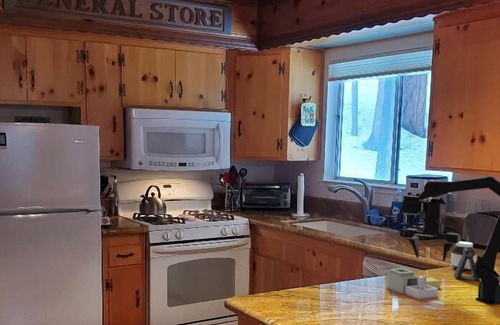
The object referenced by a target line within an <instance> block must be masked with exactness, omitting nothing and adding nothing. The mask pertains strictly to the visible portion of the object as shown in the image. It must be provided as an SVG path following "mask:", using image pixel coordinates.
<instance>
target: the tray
mask: <svg viewBox="0 0 500 325" xmlns="http://www.w3.org/2000/svg"><path fill="white" fill-rule="evenodd" d="M405 296H408V297H410V298H413V299H415V300H424V299H425V300H426V299H434V298H438V296H439V288H435V287H432V286H429V285H426V289H424V290H417V285H413V286H406V293H405Z"/></svg>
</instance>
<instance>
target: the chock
mask: <svg viewBox="0 0 500 325" xmlns="http://www.w3.org/2000/svg"><path fill="white" fill-rule="evenodd" d="M426 285H429V286H432V287H435V288H438V289H441V280H439V279H437V278H434V277H426Z"/></svg>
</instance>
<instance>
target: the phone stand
mask: <svg viewBox="0 0 500 325" xmlns="http://www.w3.org/2000/svg"><path fill="white" fill-rule="evenodd" d="M468 249H469V248H468ZM469 250H470V249H469ZM467 251H468V250H467V249H466V248H464V249H463V255H462V258H461V260H460V262H459V264H458V266H457V269H455V271H454V273H453V276H454V278H455V280H460V281H471V282H472V281H474V282H480V281H481V279H480V278H478V277H477V276H476V274H475V267H474V261H473V252H472V251H471V250H470V253H469V254H467V255H466V252H467ZM467 259H469V263H470V267H471V271H470V272H471V276H469V275H463V273H464V271H463V270H464V267H465V264H466V261H467Z"/></svg>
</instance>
